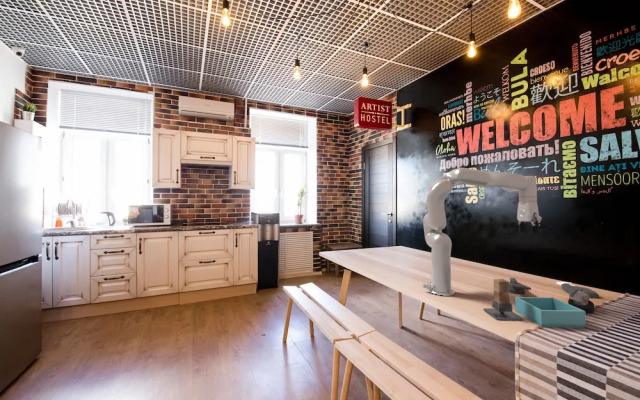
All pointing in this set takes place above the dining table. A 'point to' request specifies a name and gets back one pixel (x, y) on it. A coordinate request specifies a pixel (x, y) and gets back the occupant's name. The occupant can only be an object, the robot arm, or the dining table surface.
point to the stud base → (502, 314)
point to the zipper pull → (517, 287)
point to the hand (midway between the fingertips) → (528, 232)
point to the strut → (501, 296)
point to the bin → (550, 312)
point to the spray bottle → (569, 288)
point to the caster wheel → (581, 301)
